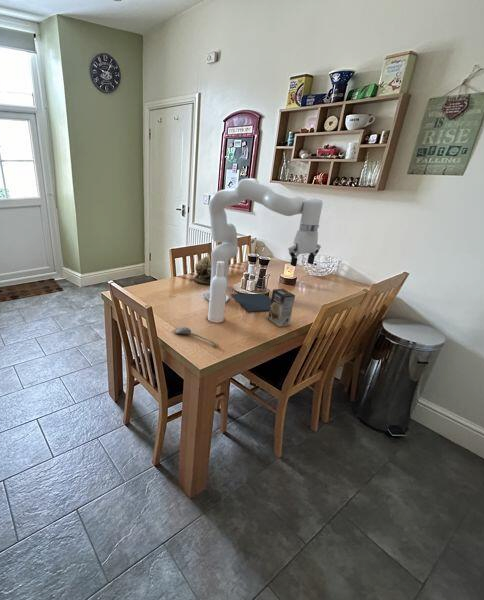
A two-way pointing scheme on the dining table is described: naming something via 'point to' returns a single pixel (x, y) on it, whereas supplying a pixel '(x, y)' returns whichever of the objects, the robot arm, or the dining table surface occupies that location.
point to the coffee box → (281, 307)
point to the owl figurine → (203, 271)
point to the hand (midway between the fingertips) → (301, 264)
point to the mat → (253, 302)
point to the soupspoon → (188, 331)
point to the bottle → (217, 295)
